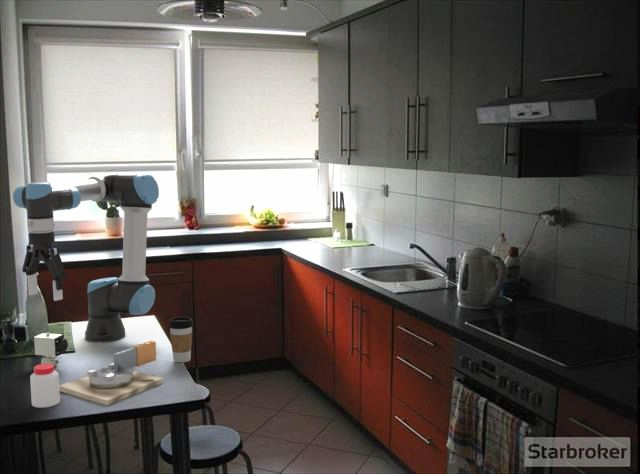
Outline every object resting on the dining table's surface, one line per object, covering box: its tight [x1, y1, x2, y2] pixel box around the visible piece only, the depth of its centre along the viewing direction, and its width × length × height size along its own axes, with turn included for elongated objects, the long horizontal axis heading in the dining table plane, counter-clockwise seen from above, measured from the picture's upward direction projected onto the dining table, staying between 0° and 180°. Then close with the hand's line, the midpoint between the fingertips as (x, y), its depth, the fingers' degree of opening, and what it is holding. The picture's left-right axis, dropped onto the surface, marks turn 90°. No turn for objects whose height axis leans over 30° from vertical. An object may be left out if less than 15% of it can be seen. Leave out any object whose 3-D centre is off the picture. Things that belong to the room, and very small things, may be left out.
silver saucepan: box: [87, 340, 157, 389], centre depth 211 cm, size 24×13×8 cm, turn 148°
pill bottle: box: [29, 363, 61, 409], centre depth 193 cm, size 8×8×11 cm
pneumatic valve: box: [29, 332, 69, 367], centre depth 225 cm, size 6×12×12 cm, turn 78°
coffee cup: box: [168, 316, 194, 363], centre depth 232 cm, size 8×8×15 cm
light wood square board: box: [59, 370, 164, 406], centre depth 207 cm, size 22×22×2 cm
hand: (45, 297), depth 212 cm, fingers open, 13 cm apart
